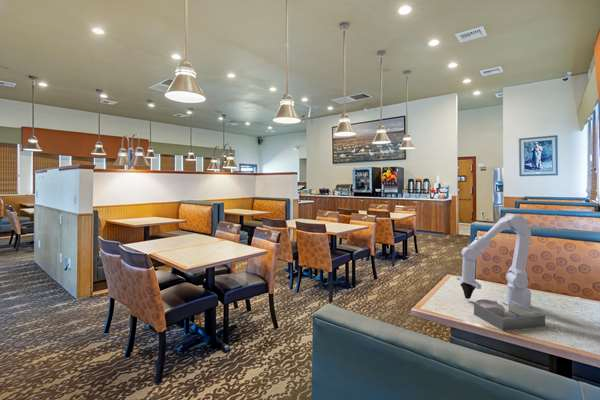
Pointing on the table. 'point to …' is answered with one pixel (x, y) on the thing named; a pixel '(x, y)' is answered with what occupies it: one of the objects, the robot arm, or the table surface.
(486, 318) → the frame
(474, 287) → the robot arm
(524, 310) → the sliding jaw
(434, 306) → the table surface
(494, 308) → the stone block
